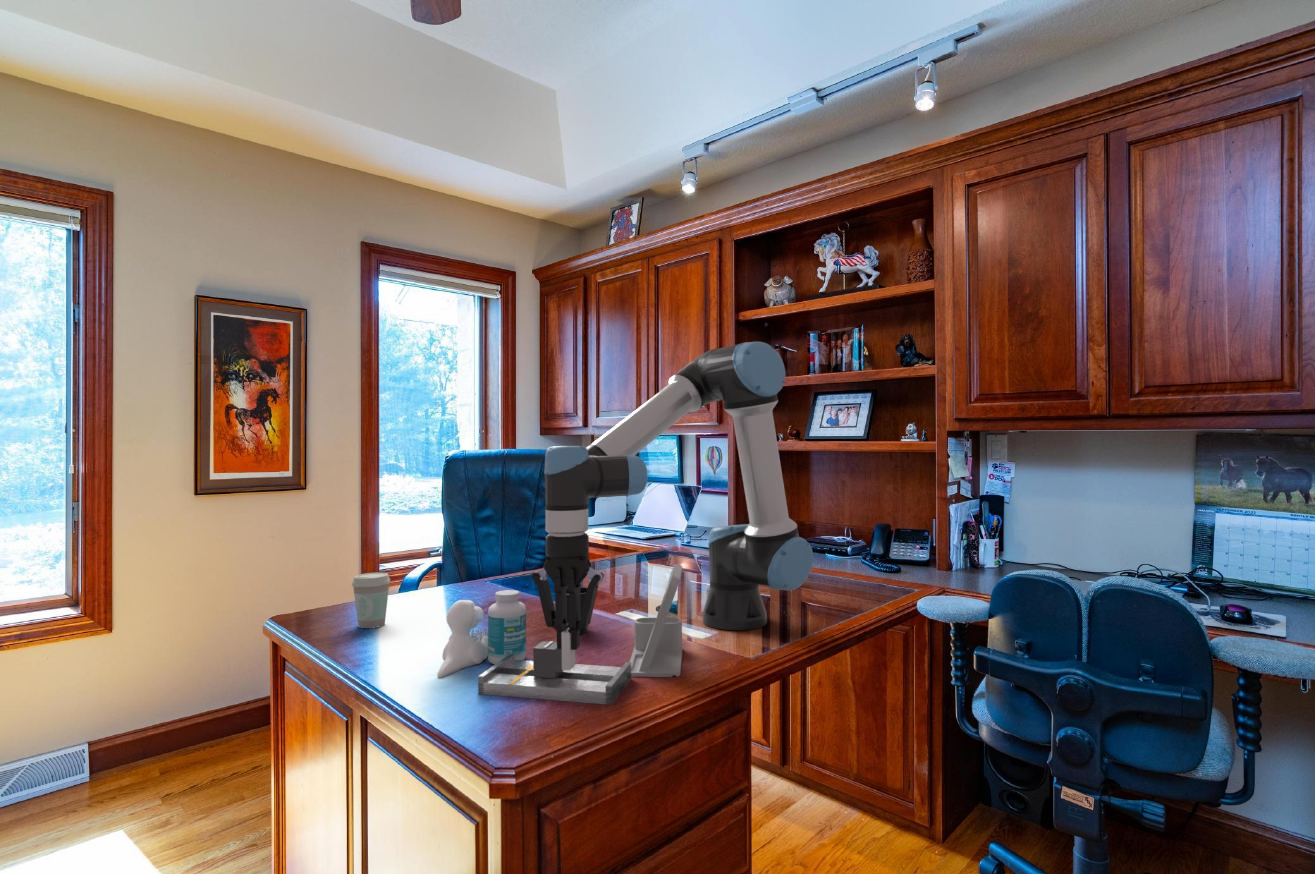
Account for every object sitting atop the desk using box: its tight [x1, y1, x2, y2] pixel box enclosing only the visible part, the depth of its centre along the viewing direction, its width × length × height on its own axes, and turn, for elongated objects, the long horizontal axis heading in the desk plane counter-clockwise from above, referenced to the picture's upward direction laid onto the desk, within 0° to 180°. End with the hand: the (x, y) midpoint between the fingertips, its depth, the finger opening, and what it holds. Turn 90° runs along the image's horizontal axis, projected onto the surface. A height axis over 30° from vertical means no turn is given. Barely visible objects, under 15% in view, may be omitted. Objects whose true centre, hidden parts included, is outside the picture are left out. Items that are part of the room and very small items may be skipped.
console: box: [477, 654, 632, 706], centre depth 114 cm, size 24×12×3 cm, turn 77°
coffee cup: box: [351, 571, 391, 629], centre depth 155 cm, size 8×9×12 cm
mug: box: [566, 585, 589, 636], centre depth 149 cm, size 8×12×10 cm
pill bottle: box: [487, 589, 527, 665], centre depth 128 cm, size 8×7×14 cm
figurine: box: [437, 599, 488, 678], centre depth 128 cm, size 8×18×12 cm, turn 166°
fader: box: [532, 640, 564, 678], centre depth 114 cm, size 4×4×6 cm
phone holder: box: [629, 563, 683, 678], centre depth 127 cm, size 17×10×18 cm, turn 176°
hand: (568, 667), depth 113 cm, fingers closed
